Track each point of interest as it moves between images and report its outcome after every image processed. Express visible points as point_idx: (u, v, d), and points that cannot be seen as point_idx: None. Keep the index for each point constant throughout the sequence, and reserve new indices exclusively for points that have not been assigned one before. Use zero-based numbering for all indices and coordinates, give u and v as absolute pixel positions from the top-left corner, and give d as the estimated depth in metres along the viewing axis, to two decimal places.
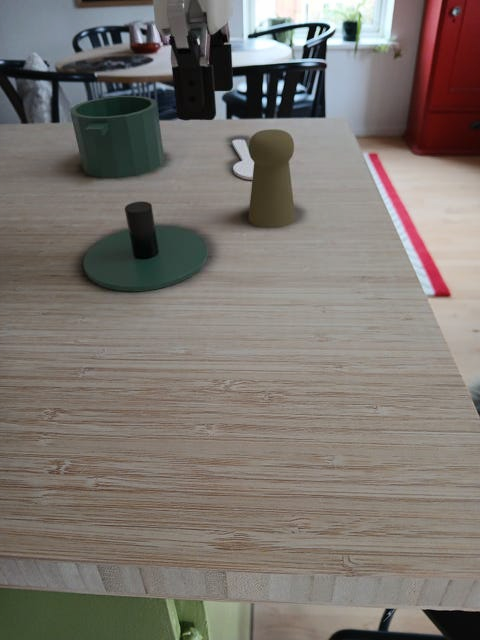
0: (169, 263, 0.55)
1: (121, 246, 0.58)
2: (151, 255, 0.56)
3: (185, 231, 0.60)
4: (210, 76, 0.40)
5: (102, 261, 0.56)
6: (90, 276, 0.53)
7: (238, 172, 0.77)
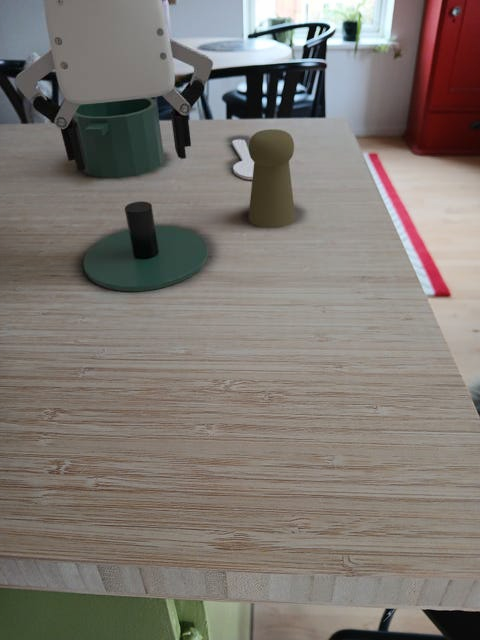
0: (169, 263, 0.55)
1: (121, 246, 0.58)
2: (151, 255, 0.56)
3: (185, 231, 0.60)
4: (69, 136, 0.47)
5: (102, 261, 0.56)
6: (90, 276, 0.53)
7: (238, 172, 0.77)
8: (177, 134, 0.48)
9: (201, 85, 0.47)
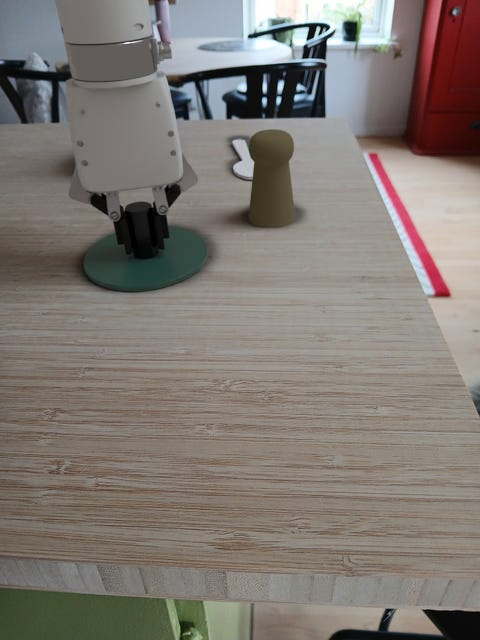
0: (169, 263, 0.55)
1: (121, 246, 0.58)
2: (151, 255, 0.56)
3: (185, 231, 0.60)
4: (120, 227, 0.53)
5: (102, 261, 0.56)
6: (90, 276, 0.53)
7: (238, 172, 0.77)
8: (156, 230, 0.54)
9: (178, 189, 0.52)
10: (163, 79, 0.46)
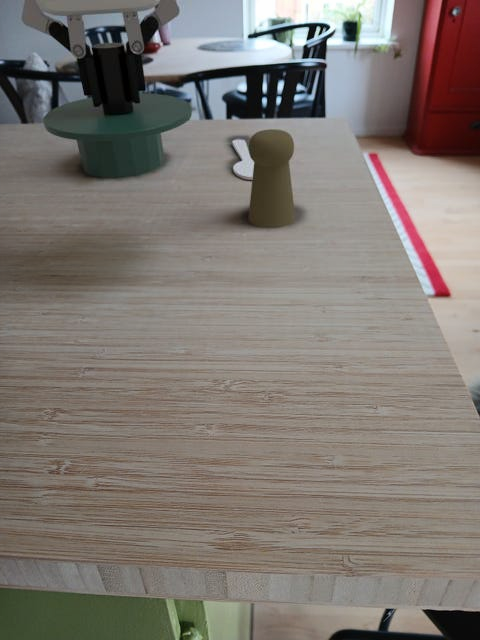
0: (145, 117, 0.46)
1: (90, 107, 0.49)
2: (124, 110, 0.47)
3: (166, 96, 0.52)
4: (86, 67, 0.44)
5: (65, 117, 0.47)
6: (49, 128, 0.45)
7: (238, 172, 0.77)
8: (130, 75, 0.45)
9: (155, 21, 0.44)
10: None
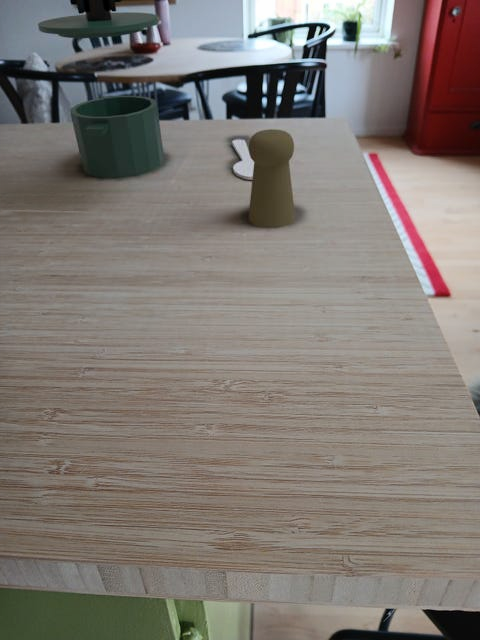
0: (119, 21, 0.57)
1: (77, 18, 0.60)
2: (103, 17, 0.58)
3: (140, 13, 0.63)
4: None
5: (56, 22, 0.58)
6: (42, 27, 0.56)
7: (238, 172, 0.77)
8: None
9: None
10: None
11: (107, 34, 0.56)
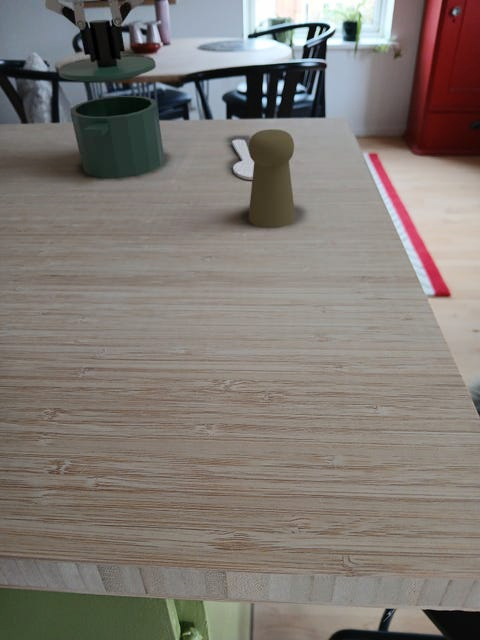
0: (124, 67, 0.71)
1: (89, 64, 0.75)
2: (110, 64, 0.72)
3: (140, 57, 0.77)
4: (85, 35, 0.69)
5: (73, 69, 0.72)
6: (63, 74, 0.70)
7: (238, 172, 0.77)
8: (113, 40, 0.70)
9: (129, 5, 0.69)
10: None
11: (114, 79, 0.70)
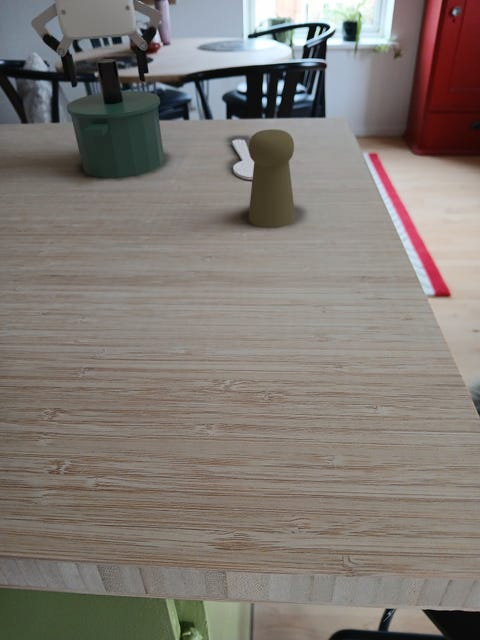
0: (129, 105, 0.74)
1: (95, 99, 0.77)
2: (117, 101, 0.75)
3: (144, 92, 0.80)
4: (66, 62, 0.70)
5: (80, 105, 0.75)
6: (71, 112, 0.73)
7: (238, 172, 0.77)
8: (138, 63, 0.72)
9: (154, 29, 0.71)
10: None
11: None
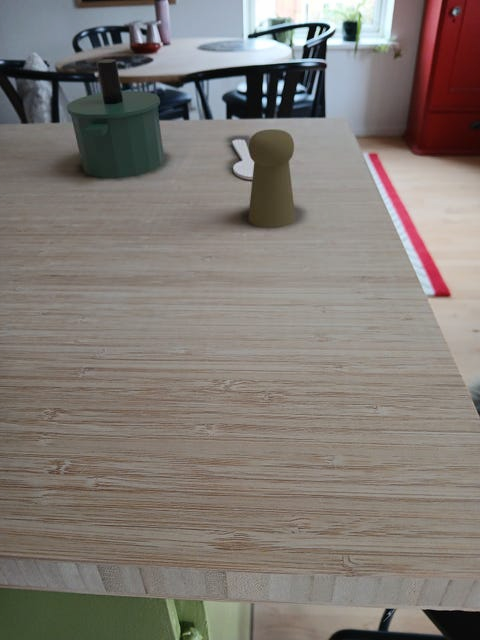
0: (129, 105, 0.74)
1: (95, 99, 0.77)
2: (117, 101, 0.75)
3: (144, 92, 0.80)
4: None
5: (80, 105, 0.75)
6: (71, 112, 0.73)
7: (238, 172, 0.77)
8: None
9: None
10: None
11: None
